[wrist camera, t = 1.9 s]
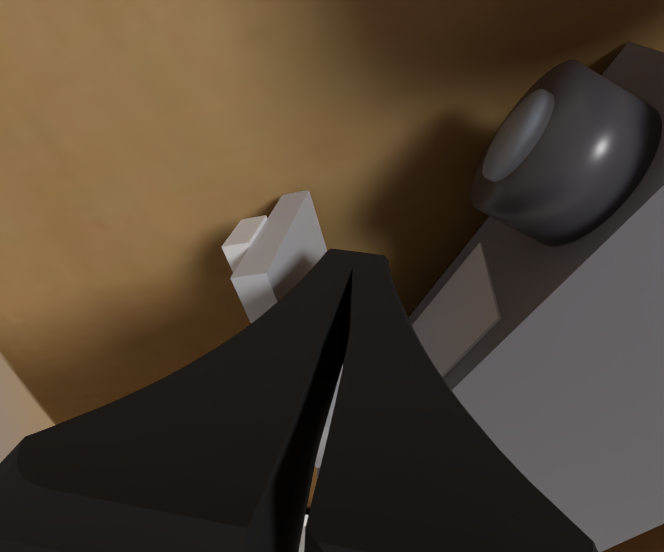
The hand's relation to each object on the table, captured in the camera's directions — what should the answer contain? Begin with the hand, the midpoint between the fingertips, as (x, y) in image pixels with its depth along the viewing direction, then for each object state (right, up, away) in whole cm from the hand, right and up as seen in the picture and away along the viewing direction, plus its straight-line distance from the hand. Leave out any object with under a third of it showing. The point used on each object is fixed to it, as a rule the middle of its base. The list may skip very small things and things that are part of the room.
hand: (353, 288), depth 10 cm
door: (-1, 0, +4) cm, 5 cm away
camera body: (+6, 0, +3) cm, 7 cm away
